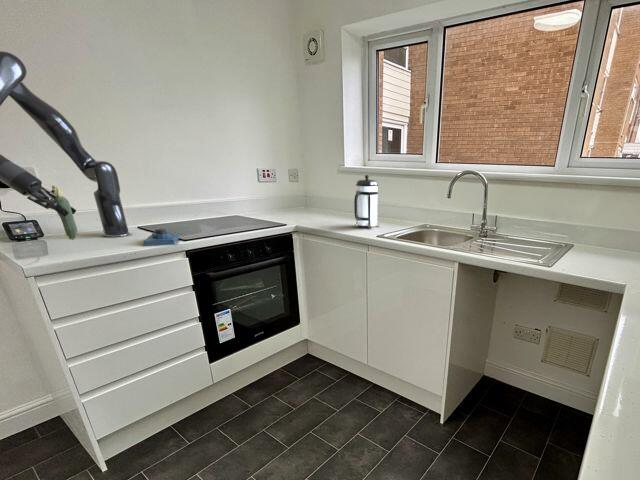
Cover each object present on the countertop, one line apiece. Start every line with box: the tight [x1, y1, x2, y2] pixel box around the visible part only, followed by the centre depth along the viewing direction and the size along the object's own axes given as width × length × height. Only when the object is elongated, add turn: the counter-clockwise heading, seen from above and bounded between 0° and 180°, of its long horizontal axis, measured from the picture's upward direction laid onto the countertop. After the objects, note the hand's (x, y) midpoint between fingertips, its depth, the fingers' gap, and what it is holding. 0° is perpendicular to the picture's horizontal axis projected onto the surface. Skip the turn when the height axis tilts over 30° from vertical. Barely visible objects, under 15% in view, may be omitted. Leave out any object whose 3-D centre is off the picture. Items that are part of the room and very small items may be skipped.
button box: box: [143, 231, 180, 247], centre depth 157 cm, size 14×11×4 cm
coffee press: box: [353, 174, 380, 230], centre depth 205 cm, size 17×16×30 cm
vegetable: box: [51, 185, 79, 241], centre depth 130 cm, size 4×4×20 cm
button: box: [154, 228, 167, 234], centre depth 156 cm, size 4×4×2 cm
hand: (70, 213), depth 130 cm, fingers closed on vegetable, 4 cm apart
